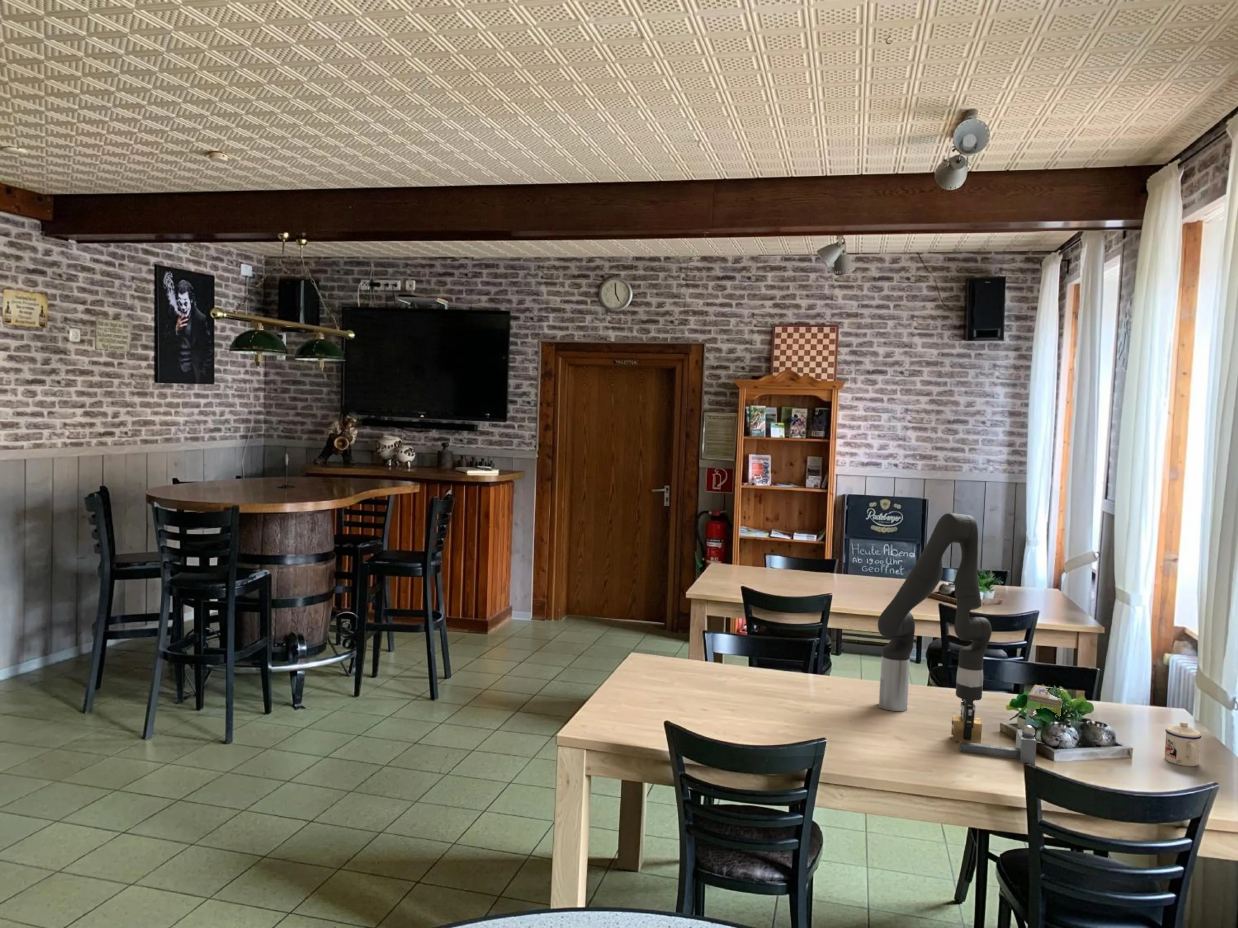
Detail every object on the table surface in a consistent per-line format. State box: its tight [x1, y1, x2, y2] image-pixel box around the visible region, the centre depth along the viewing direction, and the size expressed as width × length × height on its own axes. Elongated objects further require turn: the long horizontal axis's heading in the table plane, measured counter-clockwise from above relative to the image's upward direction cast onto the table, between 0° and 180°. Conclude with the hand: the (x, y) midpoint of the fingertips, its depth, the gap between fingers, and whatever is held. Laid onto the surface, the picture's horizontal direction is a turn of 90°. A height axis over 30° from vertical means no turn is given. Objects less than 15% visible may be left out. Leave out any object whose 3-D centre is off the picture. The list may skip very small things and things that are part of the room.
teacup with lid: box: [1164, 721, 1202, 767], centre depth 273 cm, size 12×9×12 cm
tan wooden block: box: [950, 714, 983, 744], centre depth 285 cm, size 8×6×6 cm
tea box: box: [1024, 684, 1069, 732], centre depth 290 cm, size 15×10×15 cm
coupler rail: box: [958, 725, 1037, 765], centre depth 274 cm, size 20×9×10 cm, turn 75°
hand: (966, 736), depth 285 cm, fingers closed on tan wooden block, 5 cm apart
